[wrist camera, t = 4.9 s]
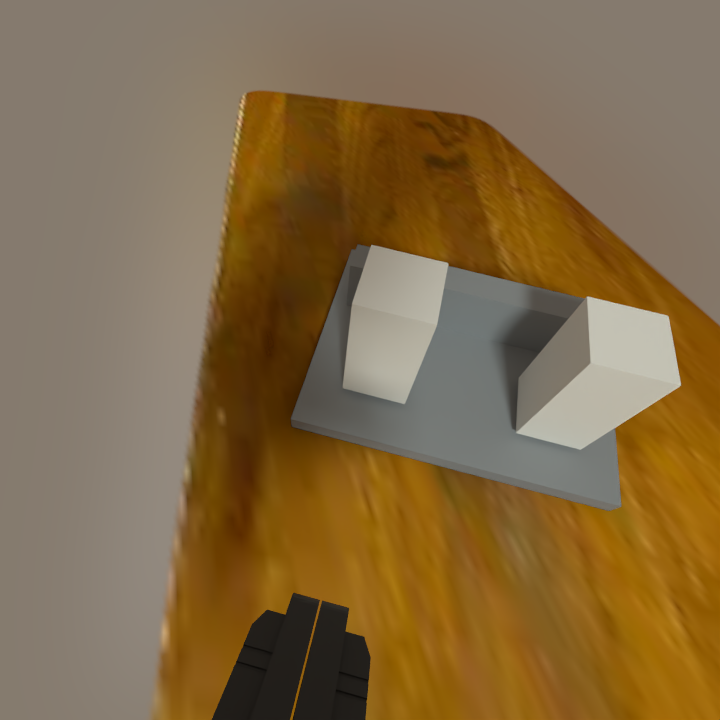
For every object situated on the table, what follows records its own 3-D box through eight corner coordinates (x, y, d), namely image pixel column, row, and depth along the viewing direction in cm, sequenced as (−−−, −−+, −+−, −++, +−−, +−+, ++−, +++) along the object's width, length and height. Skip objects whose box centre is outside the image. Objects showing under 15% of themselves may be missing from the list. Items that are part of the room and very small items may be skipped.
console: (609, 510, 26) (669, 488, 21) (291, 426, 27) (286, 388, 22) (596, 319, 34) (638, 274, 29) (350, 259, 35) (355, 207, 30)
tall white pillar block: (404, 404, 27) (437, 324, 19) (342, 388, 27) (351, 303, 20) (415, 352, 29) (448, 263, 21) (357, 337, 29) (371, 244, 22)
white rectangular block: (580, 449, 26) (681, 385, 19) (515, 433, 26) (590, 363, 19) (578, 393, 28) (668, 315, 21) (518, 377, 28) (587, 296, 21)
